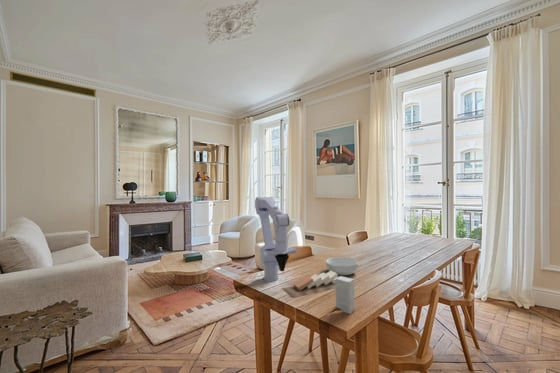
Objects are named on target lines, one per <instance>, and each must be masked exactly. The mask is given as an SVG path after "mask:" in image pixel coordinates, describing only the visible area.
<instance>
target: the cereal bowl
mask: <svg viewBox="0 0 560 373" xmlns="http://www.w3.org/2000/svg"><path fill="white" fill-rule="evenodd" d="M358 262H359V261H358V260H356V259H355V258H351V257H343V256H336V257H329V258H327V259H326V263H325V264H326V269H327V270H328V272H329V271H333V272H335V273H337V275H338V276H349V275H352V274H354V273H355V272H356V271H357V270H358V268H359V266H358V264H359V263H358Z"/></svg>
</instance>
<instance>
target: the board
mask: <svg viewBox="0 0 560 373" xmlns="http://www.w3.org/2000/svg"><path fill="white" fill-rule="evenodd" d="M334 289H335V290H336V285H335V283H331V282H330V283H328V284H327V285H324V284H321V285H320V286H318V287H316V286H312V287H311V288H309V289H308V288H306V287H305V288H303V289H302V290H300V291H299V290H298V289H296V288H295V287H294V285H293V286H289V287H284V288H282V291H284V292H285V294H287V295H288V296H290V297H291V298H292V299H294V298H300V297H304V296H308V295H312V294H317V293H323V292H326V291H330V290H334Z"/></svg>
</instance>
